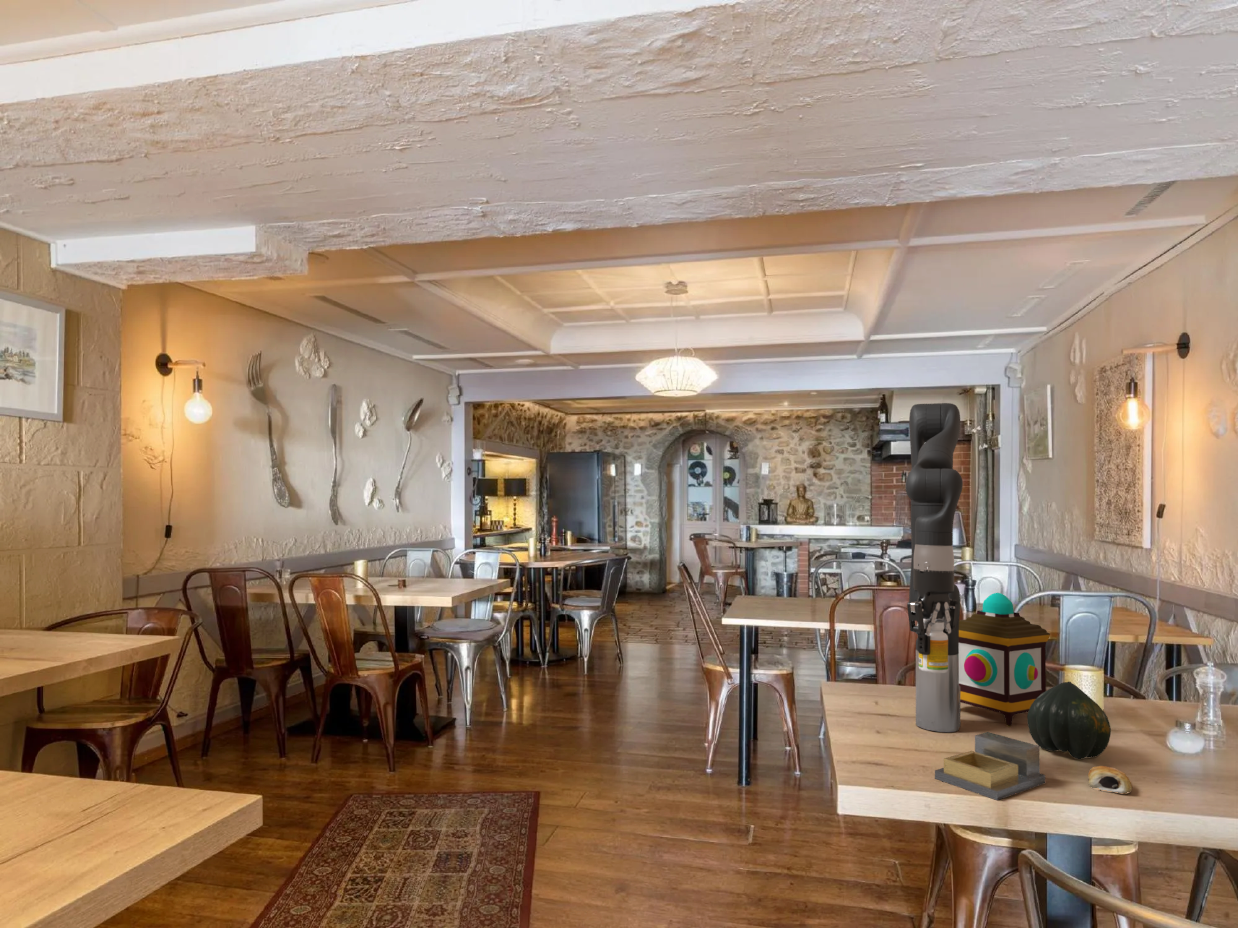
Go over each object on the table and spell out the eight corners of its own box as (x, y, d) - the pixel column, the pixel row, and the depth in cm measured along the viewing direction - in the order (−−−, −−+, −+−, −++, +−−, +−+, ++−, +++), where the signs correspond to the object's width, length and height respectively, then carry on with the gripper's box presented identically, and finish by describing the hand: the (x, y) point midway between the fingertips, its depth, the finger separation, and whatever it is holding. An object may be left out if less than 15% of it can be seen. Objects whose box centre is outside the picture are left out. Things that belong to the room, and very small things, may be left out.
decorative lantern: (1011, 730, 173) (1010, 598, 175) (937, 708, 190) (937, 589, 192) (1062, 719, 183) (1061, 595, 184) (987, 700, 200) (986, 587, 202)
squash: (1059, 739, 148) (1096, 679, 152) (1001, 721, 162) (1037, 666, 166) (1104, 785, 150) (1140, 724, 154) (1043, 763, 164) (1077, 708, 168)
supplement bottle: (953, 672, 149) (953, 622, 149) (936, 674, 146) (936, 623, 147) (929, 666, 153) (930, 618, 154) (912, 669, 151) (913, 620, 151)
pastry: (1087, 775, 145) (1087, 754, 145) (1129, 782, 141) (1129, 762, 141) (1088, 790, 137) (1088, 768, 137) (1133, 798, 133) (1133, 776, 133)
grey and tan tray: (983, 763, 149) (983, 730, 149) (1045, 783, 139) (1045, 747, 139) (934, 778, 140) (934, 742, 141) (997, 800, 130) (997, 761, 131)
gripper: (938, 565, 158) (938, 647, 157) (894, 566, 150) (894, 652, 149) (971, 568, 152) (971, 653, 151) (928, 570, 144) (928, 659, 143)
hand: (933, 652), depth 150 cm, fingers closed on supplement bottle, 5 cm apart
